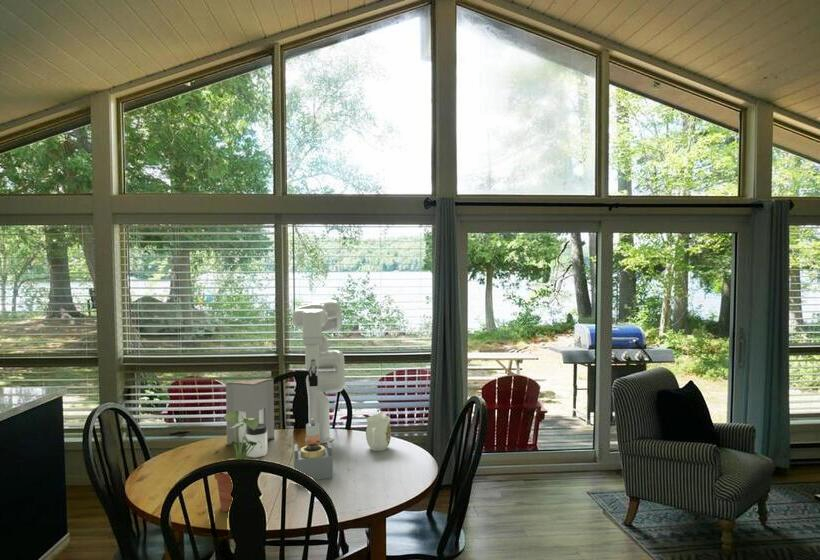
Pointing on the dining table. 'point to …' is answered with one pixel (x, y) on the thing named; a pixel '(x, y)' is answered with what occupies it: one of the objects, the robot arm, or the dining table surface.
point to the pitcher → (378, 432)
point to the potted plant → (224, 478)
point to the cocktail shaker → (312, 436)
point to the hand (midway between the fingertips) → (312, 383)
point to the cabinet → (250, 406)
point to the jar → (256, 436)
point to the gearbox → (314, 462)
